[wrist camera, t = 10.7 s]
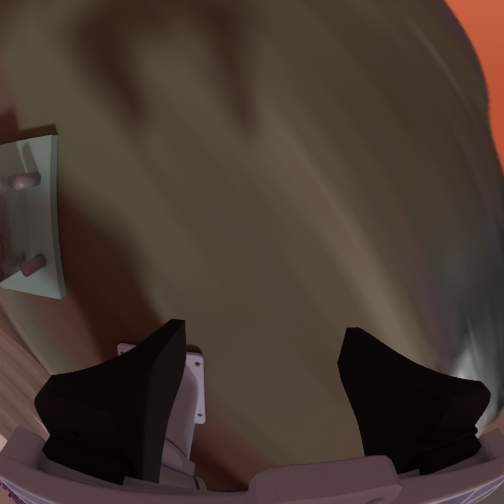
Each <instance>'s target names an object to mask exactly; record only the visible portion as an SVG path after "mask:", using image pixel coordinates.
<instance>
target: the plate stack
mask: <svg viewBox="0 0 504 504" xmlns="http://www.w3.org/2000/svg"><path fill="white" fill-rule="evenodd" d="M50 377H51V376H50V375H49V373H48V372H47V371H46V370H45V369H44V368H43V367H42V366H41V365H40V364H39V363H38V362H37V361H36V360H35V359H34V358H33V357H32V356H31V355H30V354H29V353H28V352H27V351H26V350H25V349H24V348H23V347H22V346H20V345H19V344H18V343H17V342H16V341H15V340H14V339H12V338H11V337H10V336H9V335H7V334H6V333H5V332H4V331H2V330H1V329H0V452H1V450H2V449H3V447H4V446H5V444H6V442H7V441H8V439H9V438H10V436H11V435H12V433H13V432H14V430H15V429H16V427H17V426H20V427H22V428H24V429H26V430H29V431H31V432H33V433H35V434H37V435H39V436H40V437H42V438H43V439H44V440H45V441H46V442H47V440H48V438H49V436H50V435H49V433H48V431H47V429H46V428H45V426H44V424H43V423H42V421H41V419H40V417H39V415H38V413H37V411H36V409H35V405H34V399H35V397H36V395H37V394H38V392H39V391H40V390H41V388H42V387H43V386H44V384H45V383H46V382H47V380H48V379H49V378H50Z"/></svg>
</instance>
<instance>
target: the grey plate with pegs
mask: <svg viewBox="0 0 504 504" xmlns="http://www.w3.org/2000/svg"><path fill="white" fill-rule="evenodd" d="M57 150H58V135H48V136H42V137H36V138H31V139H26V140H21V141H16V142H11V143H7V144H3V145H0V176H4V175H12V174H16V175H15V176H14V178H13V186H14V188H15V189H16V190H19V189H24V188H26V196H27V216H28V229H29V239H30V247H31V255H32V258H31V259H29V260H27V261H25V262H24V263H22V264H21V267H20V268H21V271H19V272H17V273H15V274H14V275H12V276H10V277H9V278H7V279H6V280H4V281H2V282H1V283H0V287H4V288H8V289H12V290H17V291H21V292H26V293H31V294H36V295H41V296H46V297H51V298H56V299H62V298H63V297H65V296H66V295H67V294H66V288H65V282H64V276H63V269H62V261H61V252H60V242H59V231H58V215H57ZM20 173H22V174H20Z"/></svg>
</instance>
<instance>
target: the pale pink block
mask: <svg viewBox="0 0 504 504" xmlns="http://www.w3.org/2000/svg"><path fill="white" fill-rule="evenodd" d="M20 174H22V173H20ZM15 175H16V174H12V175H4V176H0V283H1V282H2V281H4V280H6V279H7V278H9V277H10V276H12V275H14V274H15V273H17V272H19V271H21V268H20V267H21V264H22V263H24V262H25V261H27V260H29V259H31V258H32V255H31V247H30V239H29V229H28V216H27V196H26V188H24V189H19V190H16V189H15V188H14V186H13V178H14V176H15Z"/></svg>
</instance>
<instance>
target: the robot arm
mask: <svg viewBox="0 0 504 504" xmlns="http://www.w3.org/2000/svg"><path fill="white" fill-rule="evenodd" d="M117 350H118V355H119V356H118V357H116V358H113V359H111V360H109V361H106V362H104V363H101V364H99V365H96V366H93V367H90V368H87V369H83V370H79V371H75V372H70V373H64V374H57V375H51V377H50V378H49V379H48V380H47V382H46V383H45V384H44V386H43V387H42V388H41V390H40V391H39V392H38V394H37V395H36V397H35V399H34V405H35V409H36V411H37V413H38V415H39V417H40V419H41V421H42V423H43V424H44V426H45V428H46V429H47V431H48V433H49V435H50V436H49V438H48V440H47V442H46V441H45V440H44V439H43V438H42V437H40V436H39V435H37V434H35V433H33V432H31V431H29V430H26V429H24V428H22V427H20V426H17V427H16V429H15V430H14V432H13V433H12V435H11V436H10V438H9V439H8V441H7V442H6V444H5V446H4V447H3V449H2V450H1V452H0V480H1V481H2V482H3V483H4V484H5V485H6V486H7V487H8V488H9V489H10V490H11V491H12V492H14V493H15V494H16V495H17V496H18V497H19V498H20V499H21V500H22V501H23V502H25V503H27V504H475V503H477V502H478V501H480V500H482V499H483V498H485V497H487V496H488V495H489V494H491V493H492V492H493V491H494V490H495V489H496V488H497V487H498V486H499V485H501V484H502V482H504V434H503V433H502V432H501V430H500V429H499V428H496V429H494V430H492V431H490V432H488V433H486V434H484V435H482V436H481V437H480V438H479V439H477V437H476V436H475V434H476V433H477V432H478V430H477V428H476V427H475V424H476V423H477V421H478V420H479V418H480V417H481V416H482V414H483V413H484V411H485V409H486V408H487V406H488V404H489V401H490V398H491V393H490V391H489V390H488V389H487V387H486V386H485V385H484V384H483V383H482V382H481V381H474V380H467V379H461V378H457V377H453V376H449V375H446V374H442V373H439V372H436V371H434V370H431V369H428V368H426V367H424V366H422V365H419V364H417V363H415V362H413V361H411V360H409V359H407V358H406V357H404V356H402V355H401V354H399V353H397V352H396V351H394V350H393V349H391V348H390V347H388V346H387V345H385V344H384V343H382V342H381V341H379V340H378V339H376V338H375V337H373V336H372V335H371V334H369V333H367V332H366V331H364V330H363V329H361V328H359V327H357V328H347V329H346V333H345V337H344V341H343V345H342V348H341V352H340V355H339V359H338V362H337V364H338V368H339V373H340V377H341V381H342V384H343V386H344V389H345V391H346V394H347V396H348V399H349V401H350V404H351V406H352V409H353V411H354V414H355V416H356V419H357V422H358V426H359V430H360V434H361V438H362V443H363V449H364V454H365V456H364V457H358V458H352V459H345V460H338V461H329V462H320V463H308V464H291V465H285V466H278V467H272V468H270V469H267V470H265V471H262V472H260V473H258V474H256V475H255V477H254V478H253V479H252V480H251V481H250V482H249V488H248V491H243V492H216V491H207V488H206V485H205V483H204V481H203V480H202V479H201V478H199V477H197V476H194V470H195V463H194V462H191V461H190V460H189V456H190V450H191V444H192V438H193V433H194V427H195V423H200V424H202V423H205V395H204V358H203V356H202V354H200V353H193V352H186V334H185V320H178V319H171V320H169V321H168V322H167V323H166V324H164V325H163V326H162V327H161V328H159V329H158V330H157V331H156V332H154V333H153V334H152V335H151V336H149V337H148V338H147V339H145V340H144V341H142V342H141V343H139V344H138V345H132V344H125V343H120V344H119V345H118V346H117ZM122 352H124V353H122ZM196 362H199V363H200V364H197V363H196Z"/></svg>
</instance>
